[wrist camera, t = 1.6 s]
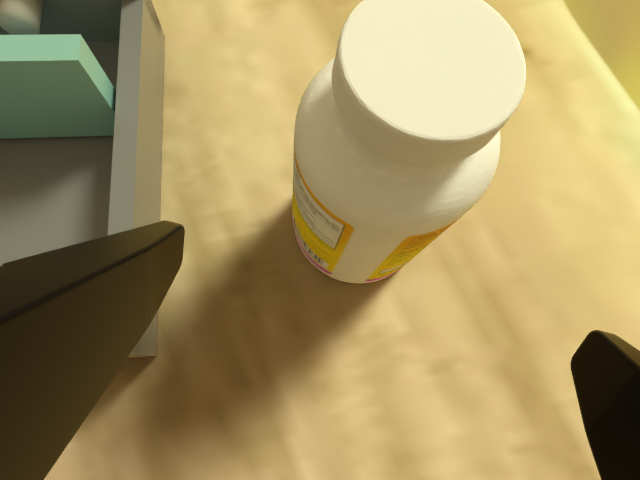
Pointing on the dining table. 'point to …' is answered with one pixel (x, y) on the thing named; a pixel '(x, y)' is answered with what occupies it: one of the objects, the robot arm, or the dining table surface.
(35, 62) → the pusher plate
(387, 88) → the supplement bottle
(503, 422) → the dining table surface
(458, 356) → the dining table surface
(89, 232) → the tray
